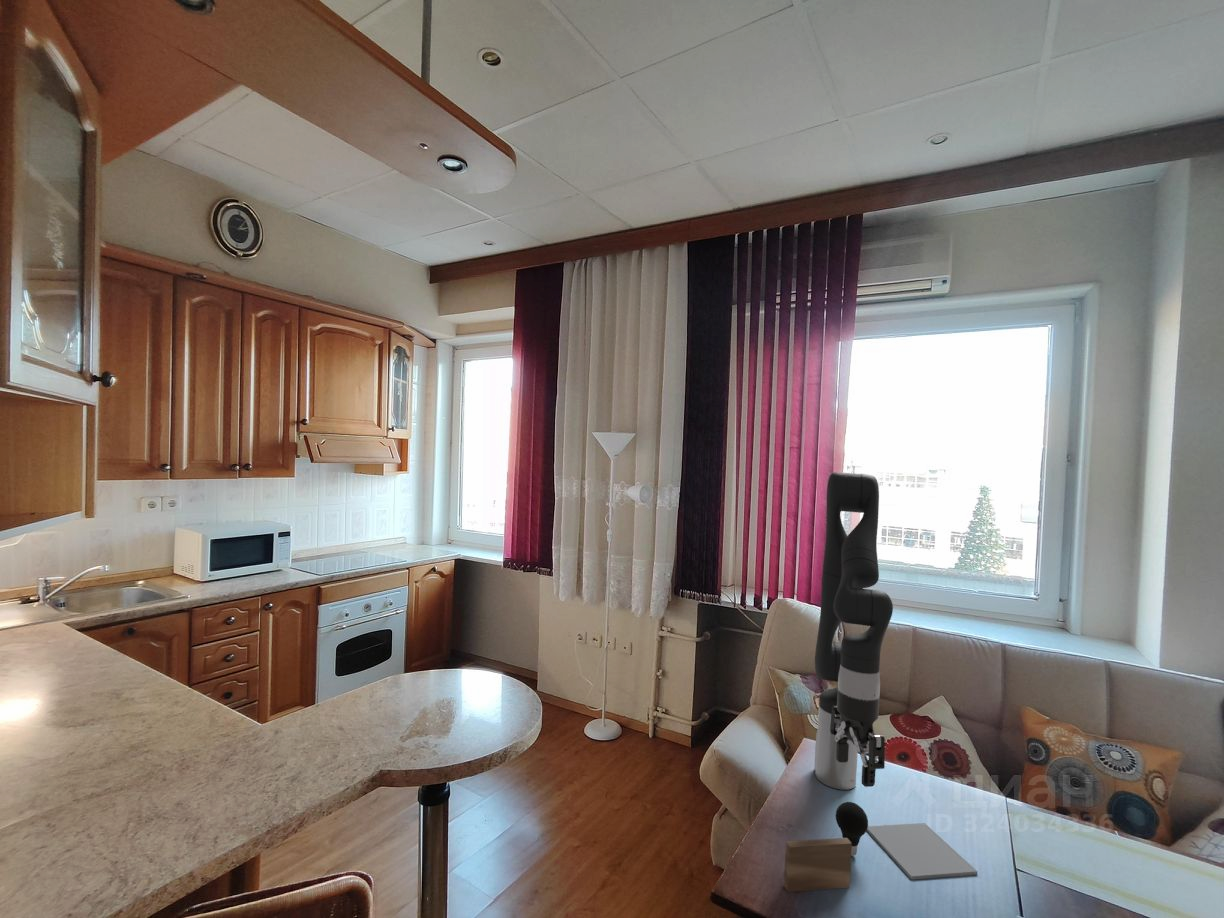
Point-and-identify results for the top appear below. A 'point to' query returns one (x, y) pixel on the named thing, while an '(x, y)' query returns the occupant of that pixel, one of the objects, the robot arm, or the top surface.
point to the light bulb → (852, 823)
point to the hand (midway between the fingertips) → (854, 773)
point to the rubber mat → (920, 851)
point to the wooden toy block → (817, 864)
